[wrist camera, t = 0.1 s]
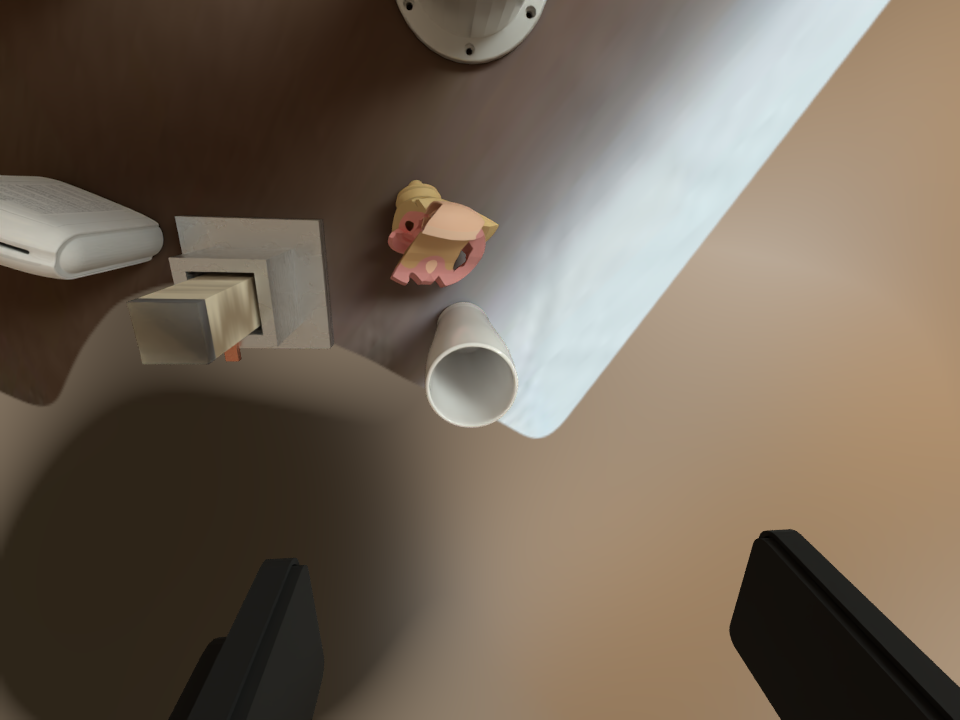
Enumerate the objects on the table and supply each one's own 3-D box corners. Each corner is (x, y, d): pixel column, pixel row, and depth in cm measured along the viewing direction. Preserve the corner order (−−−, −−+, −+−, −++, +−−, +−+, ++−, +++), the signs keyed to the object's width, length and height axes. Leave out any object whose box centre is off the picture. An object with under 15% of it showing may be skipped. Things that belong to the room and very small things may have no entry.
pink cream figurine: (363, 206, 41) (402, 135, 33) (457, 217, 46) (508, 159, 39) (380, 299, 39) (424, 247, 31) (475, 299, 45) (533, 255, 37)
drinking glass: (433, 360, 46) (429, 434, 32) (425, 296, 44) (418, 346, 30) (497, 354, 47) (521, 424, 33) (493, 290, 44) (517, 337, 30)
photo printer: (34, 218, 39) (-138, 230, 27) (40, 169, 37) (-138, 160, 26) (160, 266, 41) (50, 296, 29) (169, 221, 40) (58, 235, 28)
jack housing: (184, 215, 39) (119, 222, 32) (322, 219, 40) (293, 226, 33) (209, 343, 44) (157, 377, 36) (333, 343, 45) (310, 377, 37)
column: (229, 264, 40) (125, 301, 27) (277, 265, 40) (197, 302, 27) (237, 309, 41) (142, 364, 28) (282, 309, 41) (209, 364, 28)
